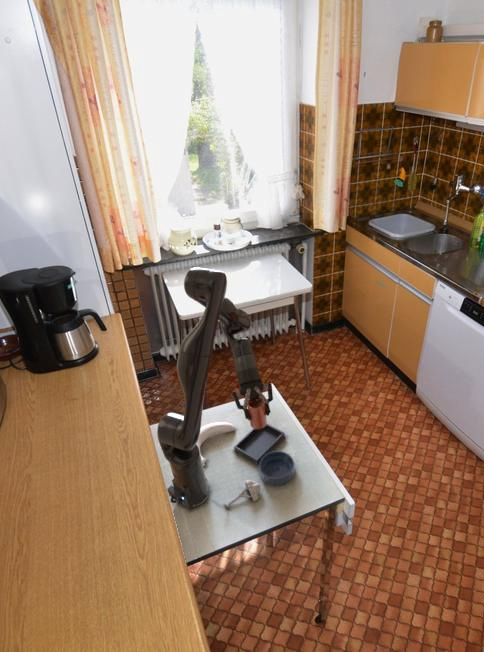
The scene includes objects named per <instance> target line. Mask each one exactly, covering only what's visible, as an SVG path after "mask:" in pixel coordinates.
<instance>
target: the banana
mask: <svg viewBox="0 0 484 652" xmlns="http://www.w3.org/2000/svg"><path fill="white" fill-rule="evenodd" d="M235 430H236V428H235V425H233V424H232V423H231V422H223V421H221V422H219V421H218V422H217V421H216V422H211V423H207V424H205V425H203V426H201V429H200V435H199V438H198V441H197V443H196V445H197V446H198V448H199V451H200V456H201V460H202V464H203V467H206V462H207V459H206V458H205V457H204V456H203V455H202V453H201V446H202V444H203V443H204V442H205V441H206V440H207V439H208V438H210V437H212V436H214V435H218V434H224V433H225V434H226V433H230V432H234V431H235Z"/></svg>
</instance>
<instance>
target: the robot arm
mask: <svg viewBox="0 0 484 652" xmlns="http://www.w3.org/2000/svg"><path fill="white" fill-rule="evenodd" d="M227 287H228V277H227V274H226V273H225V272H224V271H222V270H217V269H211V268H204V267H193V268H190V269H188V271H187V272H186V274H185V276H184V281H183V288H184V292H185V294H186V295H187V296H188V297H189V298H190V299H192V300H193V301H195V302H197V303H199V305H201V306H203V308H204V311H203V314H202V316H201V318H200V319H199V321H198V323H197V324H195V326H194V327H193V328H192V329H191V330H190V332H189V333H188V334H187V335H186V336H185V338H184V339H183V340H182V341H181V343H180V346H179V351H178V355H177V360H176V373H177V377H178V381H179V384H180V387H181V389H182V393H183V396H184V397H183V398H184V413H183V414H181V413H180V412H175V411H169V412H166V413H165V414H164V415H163V416H162V417H161V418H160V419H159V422H158V424H157V431H156V434H157V435H156V436H157V440H158V444H159V446H160V449H161V451H162V454H163V456H164V458H165V459H166V461H167V462H168V463H169V467H170V469H171V473H172V477H173V478H172V480H171V483H172V484H171V485H170V486H169V487H167V488H166V490H167V494H168V493H169V494H168V496H169V497H171V498H170V502H171V503H172V504H176V503H178V504H182V505H183V506H185V507H186V508H187V509H189V510H191V509H193V508H196V507H198V506H200V505H202V504H204V503H205V502H206V501H207V499H208V497H209V494H210V489H209V485H208V479H207V477H206V473H205V469H204V466H203V464H202V460H201V456H202V455H201V456H200V453H201V450H200V451H199V448H198V446H197V445H196V443H197V441H198V438H199V435H200V429H201V427H202V420H203V409H204V408H203V407H204V399H205V392H206V387H207V382H208V376H209V372H210V367H211V361H212V357H213V351H214V344H215V339H216V333H217V327H218V324H219V325H220V329H221V331H222V333H223V335H224V336H225V338H226V339H227V342H228V344H229V346H230V350H231V355H232V358H233V362H234V363H233V364H234V370H235V373H236V378H237V382H238V385H239V388H238V389H239V390H237V391H233V392H232V393H231V396H232V398H233V401H234V404H235V405H236V408H237V409H238V410H243V412H244V417H245V418H244V419H246V420H248V421H249V422H250V420H251V419H250V414H249V410H248V405H247V402H249V399H252V398H254V397H261V398H263V399H264V401H265V409H266V417H268V416H270V414H271V408H270V402H272V401H273V400H274V394H273V384H272V383H271V382H269V383H263V381H262V378H261V375H260V370H259V367H258V363H257V360H256V357H255V353H254V351H253V346H252V343H251V340H250V338H245V337H244V338H237V337H236V336H235V335H237V334H241V333H244V332H247V331H248V330H250V329H251V326H252V321H251V317H250V316H249V314H248V313H247V312H246V311H245V310H243V309H241V308H238V307H237V306H236V305H235V304H234V303H233V302H232V300H230V299H229V298H228V297H226V292H227ZM264 388H265V391H267V397H268V398H266V395H264V393H263V389H264ZM240 394H241V395H242V396H243V397H244V400H243V405H242V404H241V401H240V399H239V397H240Z"/></svg>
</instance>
